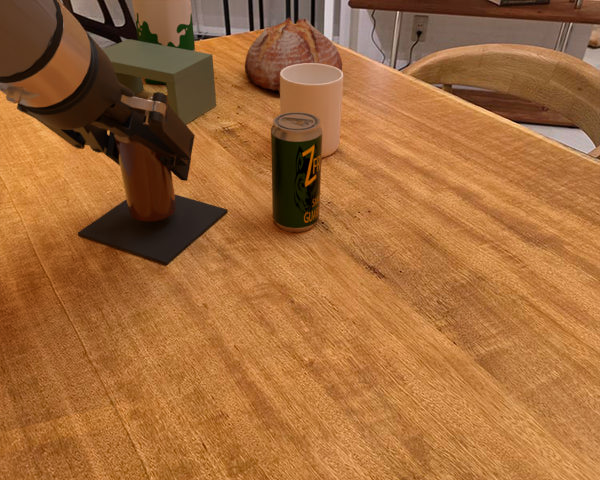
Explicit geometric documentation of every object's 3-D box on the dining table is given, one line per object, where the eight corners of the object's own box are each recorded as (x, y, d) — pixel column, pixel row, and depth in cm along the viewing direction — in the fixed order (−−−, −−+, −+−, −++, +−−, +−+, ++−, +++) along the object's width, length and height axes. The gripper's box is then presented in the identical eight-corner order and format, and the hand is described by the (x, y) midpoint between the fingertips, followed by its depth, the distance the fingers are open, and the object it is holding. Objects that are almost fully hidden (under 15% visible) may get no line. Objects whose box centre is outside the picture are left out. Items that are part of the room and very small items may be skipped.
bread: (314, 62, 115) (319, 6, 109) (355, 98, 100) (363, 35, 94) (232, 65, 110) (232, 6, 103) (263, 103, 95) (265, 38, 89)
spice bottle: (121, 206, 67) (99, 102, 59) (163, 193, 69) (147, 91, 61) (141, 226, 63) (121, 119, 56) (184, 211, 66) (171, 106, 58)
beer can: (265, 227, 67) (262, 126, 59) (283, 205, 71) (282, 107, 63) (309, 237, 66) (311, 135, 58) (325, 214, 70) (329, 115, 62)
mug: (279, 124, 89) (279, 54, 83) (334, 124, 90) (337, 54, 83) (281, 160, 80) (280, 84, 74) (341, 160, 80) (346, 84, 74)
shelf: (96, 108, 93) (85, 56, 88) (136, 88, 100) (128, 39, 95) (179, 128, 88) (173, 73, 83) (216, 105, 95) (212, 54, 90)
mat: (78, 235, 65) (77, 232, 65) (146, 188, 74) (145, 185, 73) (166, 265, 61) (165, 262, 61) (227, 212, 70) (227, 209, 69)
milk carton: (189, 88, 101) (174, -46, 88) (138, 84, 101) (116, -49, 89) (202, 71, 107) (191, -56, 94) (154, 68, 108) (137, -58, 95)
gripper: (-72, 100, 45) (80, 189, 68) (153, 122, 42) (233, 207, 65) (-52, 8, 46) (92, 127, 69) (171, 24, 43) (244, 142, 66)
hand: (161, 166), depth 67 cm, fingers closed on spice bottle, 5 cm apart
